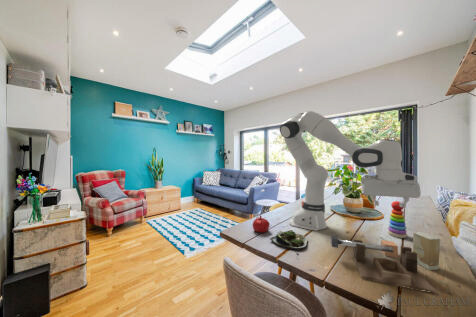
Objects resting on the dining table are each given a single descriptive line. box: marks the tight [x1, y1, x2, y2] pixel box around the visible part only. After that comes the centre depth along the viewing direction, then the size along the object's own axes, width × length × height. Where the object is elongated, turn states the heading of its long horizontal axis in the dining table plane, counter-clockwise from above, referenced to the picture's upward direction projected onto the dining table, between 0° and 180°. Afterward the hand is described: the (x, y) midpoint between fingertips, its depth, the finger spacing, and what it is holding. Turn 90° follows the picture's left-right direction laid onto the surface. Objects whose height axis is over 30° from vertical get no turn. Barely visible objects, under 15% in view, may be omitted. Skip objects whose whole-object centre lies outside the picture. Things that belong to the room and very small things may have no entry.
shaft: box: [330, 234, 393, 253], centre depth 73 cm, size 21×4×4 cm, turn 68°
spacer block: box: [380, 239, 399, 258], centre depth 78 cm, size 4×4×5 cm
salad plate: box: [269, 229, 308, 251], centre depth 93 cm, size 19×18×5 cm
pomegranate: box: [252, 214, 271, 234], centre depth 104 cm, size 10×10×9 cm
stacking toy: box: [387, 200, 408, 239], centre depth 96 cm, size 8×8×19 cm
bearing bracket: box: [351, 239, 437, 294], centre depth 66 cm, size 20×14×8 cm
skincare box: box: [412, 231, 441, 271], centre depth 70 cm, size 6×4×12 cm
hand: (389, 206), depth 78 cm, fingers open, 8 cm apart
